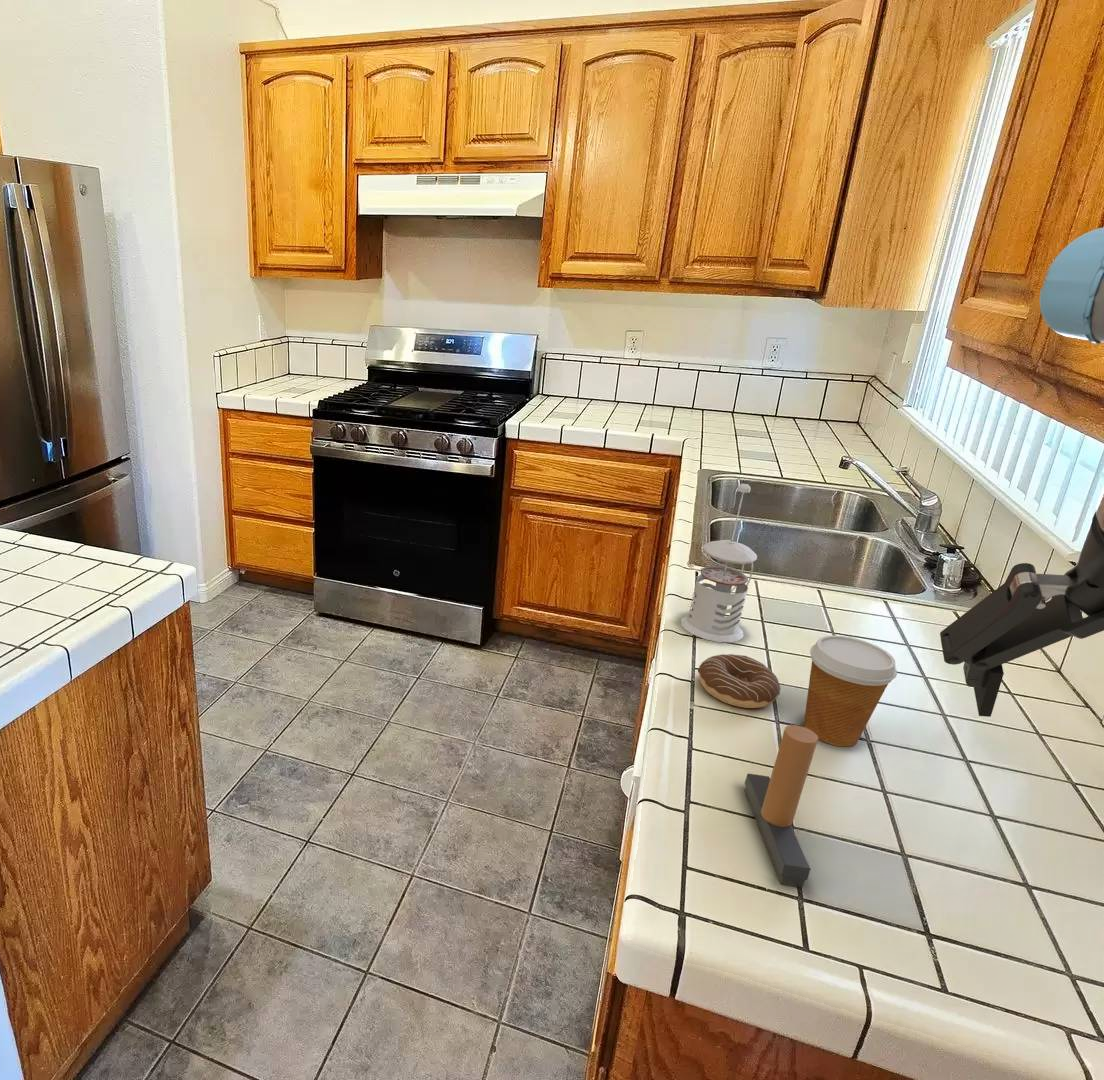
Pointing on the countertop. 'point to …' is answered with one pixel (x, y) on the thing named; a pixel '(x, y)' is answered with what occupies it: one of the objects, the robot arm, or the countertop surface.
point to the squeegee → (783, 803)
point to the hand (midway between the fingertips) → (1093, 708)
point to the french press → (721, 590)
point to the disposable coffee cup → (845, 687)
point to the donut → (739, 680)
